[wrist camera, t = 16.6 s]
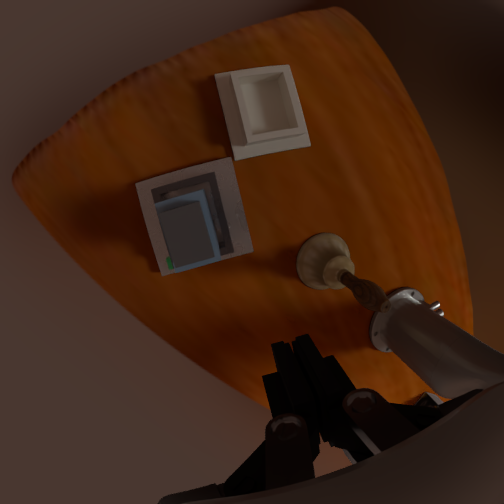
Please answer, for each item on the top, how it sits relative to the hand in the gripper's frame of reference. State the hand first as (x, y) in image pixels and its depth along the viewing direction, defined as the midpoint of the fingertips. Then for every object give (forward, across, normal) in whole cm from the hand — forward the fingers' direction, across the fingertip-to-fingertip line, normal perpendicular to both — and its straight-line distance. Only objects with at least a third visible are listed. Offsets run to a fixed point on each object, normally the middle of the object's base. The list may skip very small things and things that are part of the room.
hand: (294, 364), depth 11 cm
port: (+25, +5, -6) cm, 26 cm away
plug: (+23, +5, -6) cm, 24 cm away
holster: (+25, -6, -17) cm, 31 cm away
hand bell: (+26, -11, +5) cm, 28 cm away
